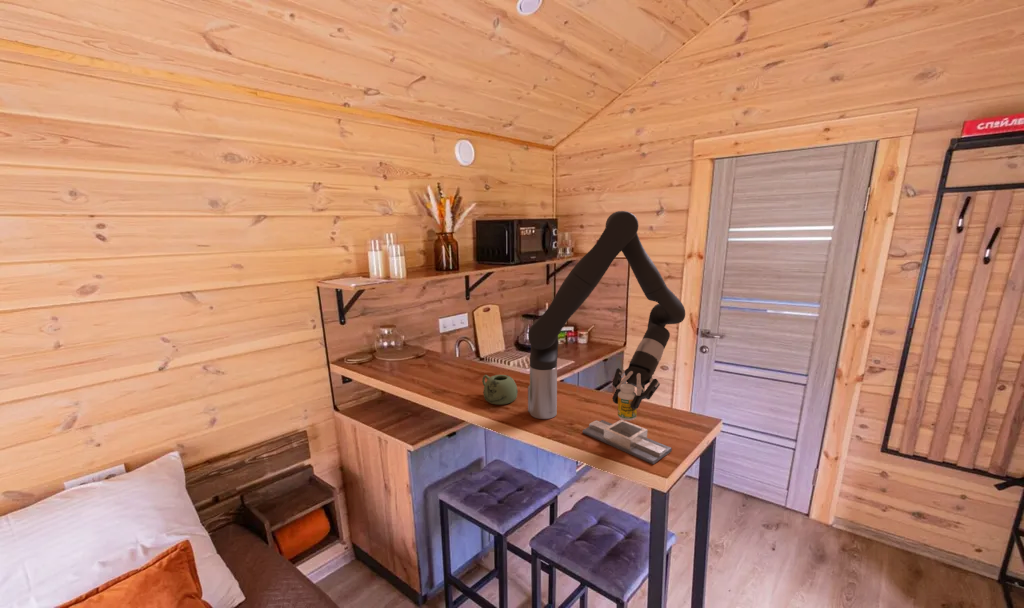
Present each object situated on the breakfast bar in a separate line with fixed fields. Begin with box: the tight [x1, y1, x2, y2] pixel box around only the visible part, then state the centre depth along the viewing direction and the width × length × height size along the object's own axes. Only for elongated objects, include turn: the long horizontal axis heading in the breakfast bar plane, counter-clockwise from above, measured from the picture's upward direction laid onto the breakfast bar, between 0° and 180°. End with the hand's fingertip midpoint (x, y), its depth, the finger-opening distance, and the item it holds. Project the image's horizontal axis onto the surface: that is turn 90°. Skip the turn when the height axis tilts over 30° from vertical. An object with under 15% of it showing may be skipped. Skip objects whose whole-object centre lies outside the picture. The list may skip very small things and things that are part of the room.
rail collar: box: [582, 419, 673, 465], centre depth 123 cm, size 24×10×4 cm, turn 42°
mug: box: [482, 374, 518, 406], centre depth 156 cm, size 16×13×9 cm
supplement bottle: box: [617, 383, 638, 422], centre depth 121 cm, size 5×5×10 cm
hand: (623, 405), depth 120 cm, fingers closed on supplement bottle, 5 cm apart
